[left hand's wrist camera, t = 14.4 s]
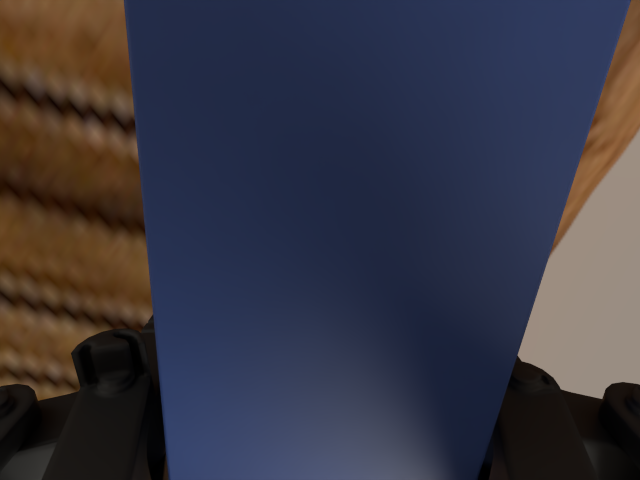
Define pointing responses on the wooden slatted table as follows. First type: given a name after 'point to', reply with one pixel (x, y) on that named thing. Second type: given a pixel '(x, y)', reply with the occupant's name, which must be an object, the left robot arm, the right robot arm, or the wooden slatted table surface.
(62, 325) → the wooden slatted table surface
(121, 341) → the left robot arm
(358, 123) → the bar
